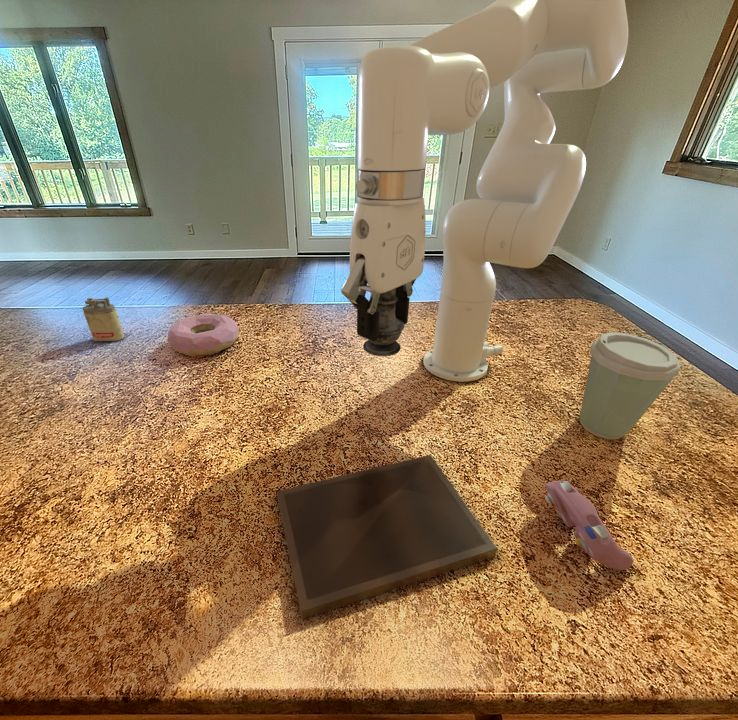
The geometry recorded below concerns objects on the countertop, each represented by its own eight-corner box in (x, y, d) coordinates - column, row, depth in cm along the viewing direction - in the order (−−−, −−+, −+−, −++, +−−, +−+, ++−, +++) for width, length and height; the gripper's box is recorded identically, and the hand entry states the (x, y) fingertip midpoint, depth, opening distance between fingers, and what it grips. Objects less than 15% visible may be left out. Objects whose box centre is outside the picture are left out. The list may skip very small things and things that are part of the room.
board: (429, 462, 55) (430, 454, 54) (495, 556, 42) (497, 548, 42) (277, 499, 49) (276, 491, 49) (301, 619, 37) (301, 611, 36)
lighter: (90, 342, 89) (75, 301, 84) (98, 334, 92) (84, 295, 87) (121, 341, 89) (107, 301, 84) (128, 334, 92) (115, 295, 87)
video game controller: (544, 508, 49) (533, 476, 46) (579, 495, 49) (570, 461, 45) (595, 585, 41) (586, 552, 38) (638, 570, 40) (633, 536, 37)
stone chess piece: (401, 359, 51) (408, 272, 45) (358, 355, 52) (359, 269, 46) (403, 339, 56) (410, 258, 50) (364, 336, 57) (366, 256, 51)
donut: (253, 338, 89) (250, 319, 87) (202, 367, 78) (197, 346, 76) (208, 324, 97) (204, 305, 94) (155, 348, 86) (150, 328, 83)
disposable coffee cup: (630, 414, 64) (669, 334, 56) (653, 458, 55) (702, 370, 47) (560, 402, 67) (587, 324, 59) (570, 442, 58) (604, 357, 50)
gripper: (366, 198, 36) (363, 362, 45) (457, 182, 46) (439, 317, 56) (312, 192, 40) (319, 342, 49) (406, 179, 51) (397, 304, 60)
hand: (382, 328), depth 52 cm, fingers closed on stone chess piece, 5 cm apart
